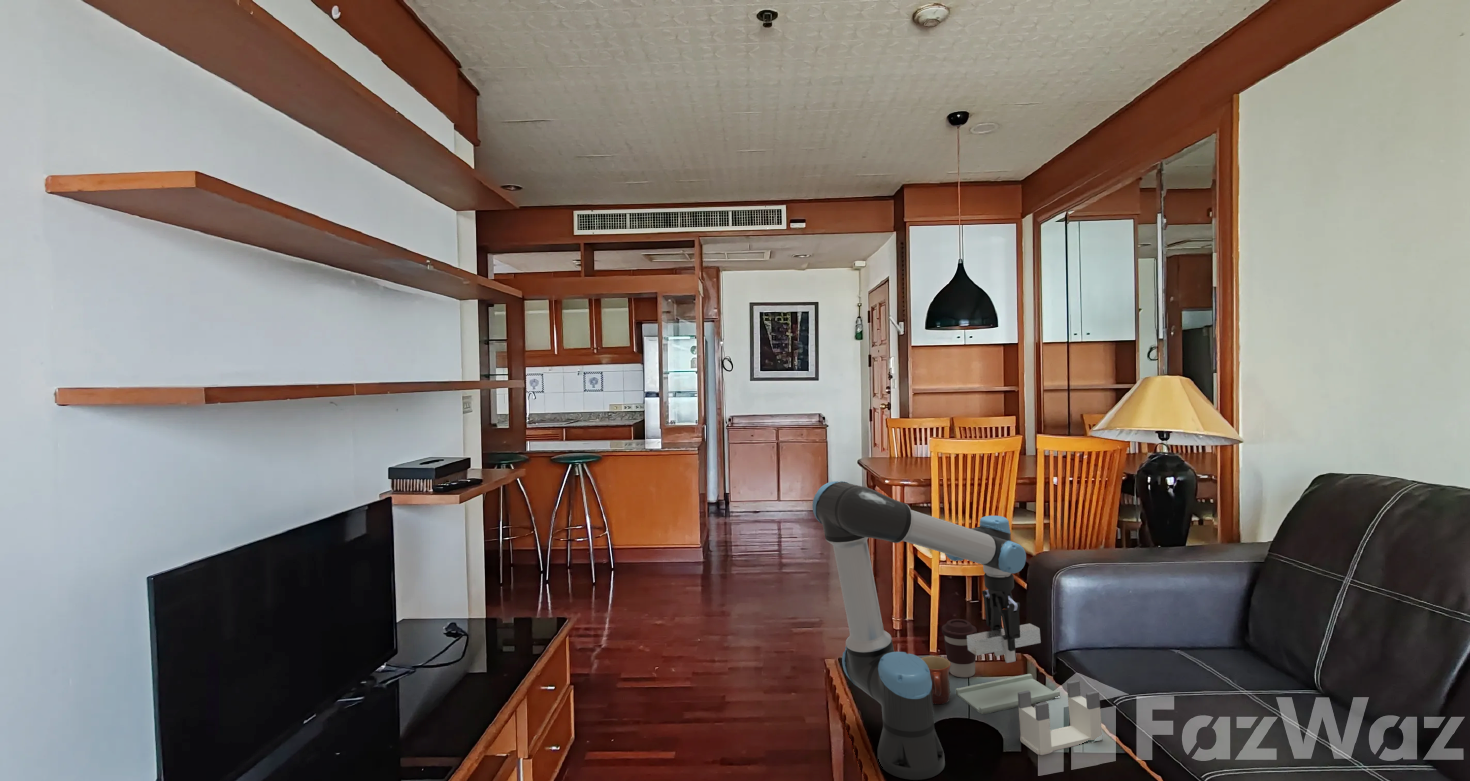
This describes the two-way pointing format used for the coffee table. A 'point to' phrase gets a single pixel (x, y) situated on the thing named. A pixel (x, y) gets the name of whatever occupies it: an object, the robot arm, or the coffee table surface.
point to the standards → (1045, 740)
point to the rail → (1001, 639)
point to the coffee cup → (959, 647)
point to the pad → (1004, 693)
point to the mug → (939, 678)
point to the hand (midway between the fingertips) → (1004, 657)
